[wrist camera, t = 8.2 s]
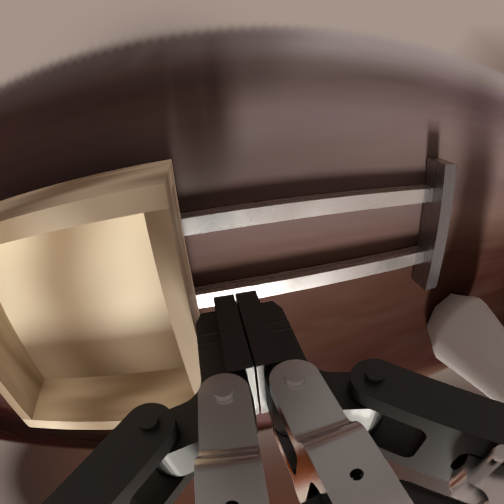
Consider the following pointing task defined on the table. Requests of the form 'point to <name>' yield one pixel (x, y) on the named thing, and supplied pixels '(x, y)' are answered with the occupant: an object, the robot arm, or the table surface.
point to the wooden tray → (96, 300)
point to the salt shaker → (470, 342)
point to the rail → (421, 256)
